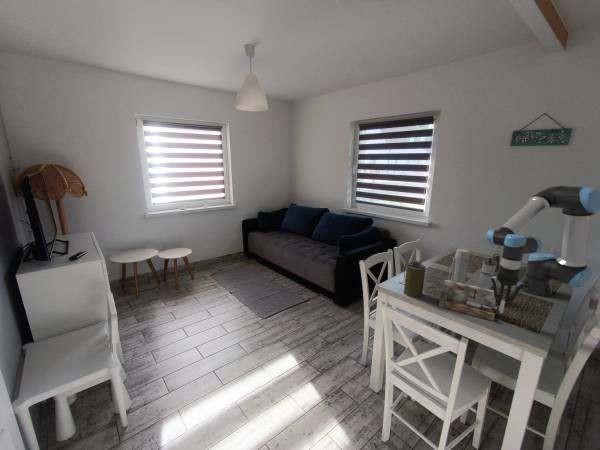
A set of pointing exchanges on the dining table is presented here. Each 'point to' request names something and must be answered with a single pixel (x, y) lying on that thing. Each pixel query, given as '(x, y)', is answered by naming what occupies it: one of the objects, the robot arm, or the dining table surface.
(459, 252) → the water bottle
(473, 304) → the silver block with knob
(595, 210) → the robot arm
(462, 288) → the brown wooden box
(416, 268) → the canister
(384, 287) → the dining table surface
